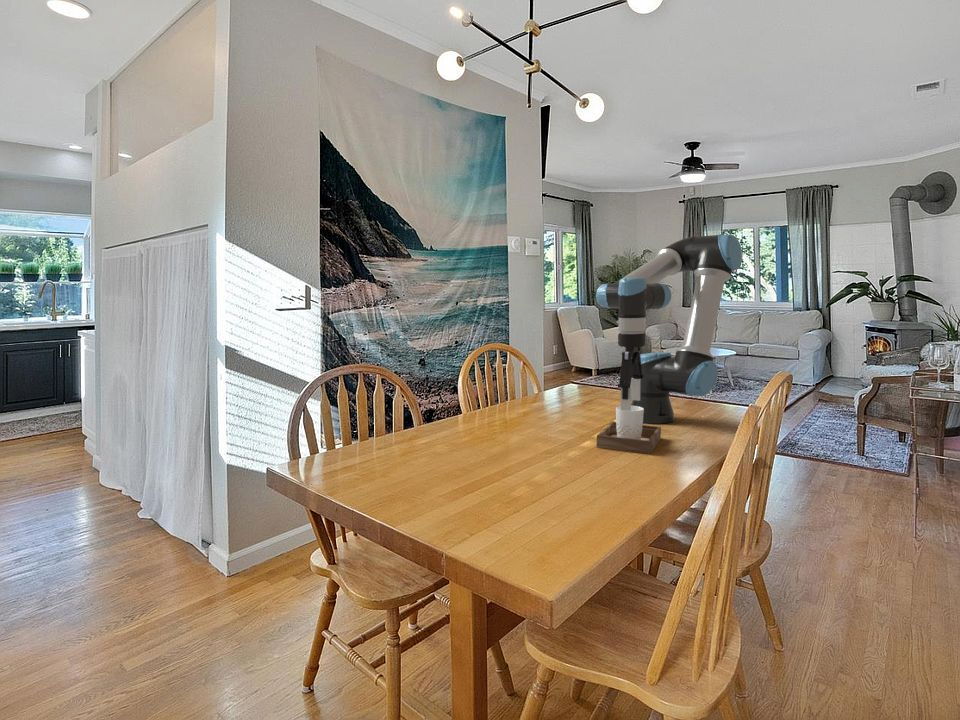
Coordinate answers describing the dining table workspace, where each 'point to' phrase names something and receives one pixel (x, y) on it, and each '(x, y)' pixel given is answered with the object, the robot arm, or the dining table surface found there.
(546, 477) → the dining table surface
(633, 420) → the white cup
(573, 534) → the dining table surface
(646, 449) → the walnut caddy
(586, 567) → the dining table surface
